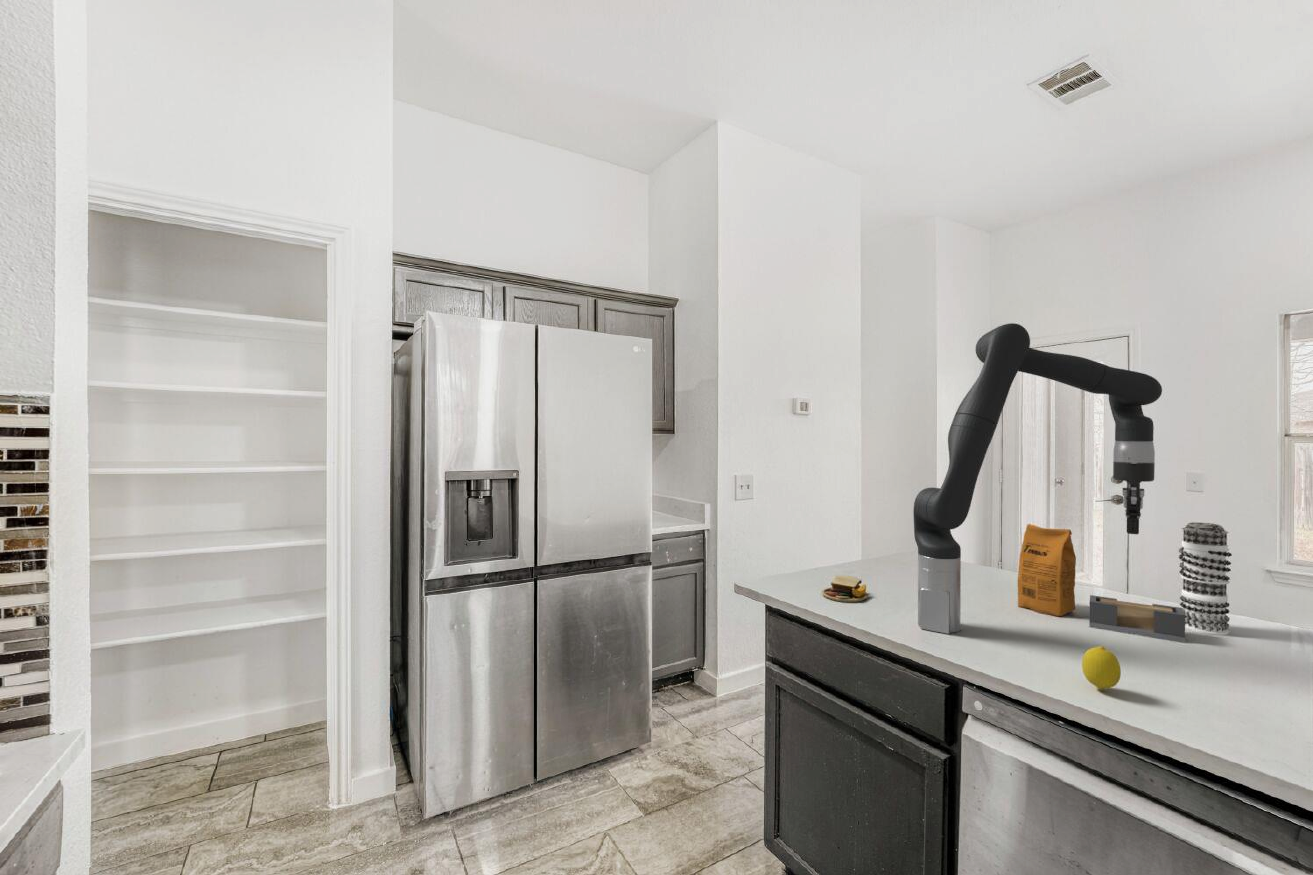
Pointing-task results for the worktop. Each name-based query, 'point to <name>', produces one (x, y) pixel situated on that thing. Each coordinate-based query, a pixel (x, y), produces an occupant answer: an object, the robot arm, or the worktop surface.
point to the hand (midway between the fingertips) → (1132, 533)
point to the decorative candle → (1205, 578)
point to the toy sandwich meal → (846, 589)
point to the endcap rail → (1164, 627)
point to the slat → (1135, 613)
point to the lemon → (1101, 668)
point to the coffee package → (1047, 571)
